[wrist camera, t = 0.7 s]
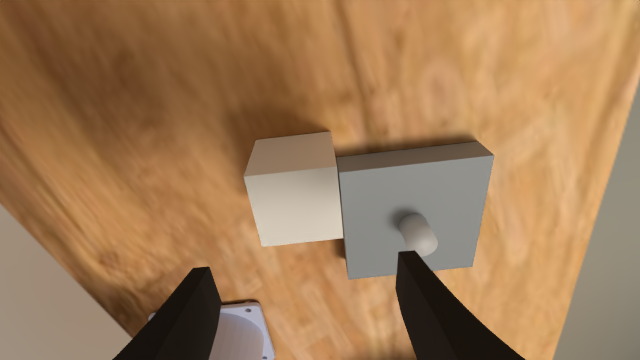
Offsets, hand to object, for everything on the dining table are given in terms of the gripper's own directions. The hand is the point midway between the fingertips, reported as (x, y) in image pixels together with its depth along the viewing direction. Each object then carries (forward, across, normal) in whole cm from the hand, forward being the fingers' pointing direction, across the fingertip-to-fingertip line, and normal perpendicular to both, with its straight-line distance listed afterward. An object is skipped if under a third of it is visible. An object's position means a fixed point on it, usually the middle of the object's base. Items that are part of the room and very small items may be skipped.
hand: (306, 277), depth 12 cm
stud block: (+9, -7, +4) cm, 12 cm away
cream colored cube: (+9, 0, 0) cm, 9 cm away
